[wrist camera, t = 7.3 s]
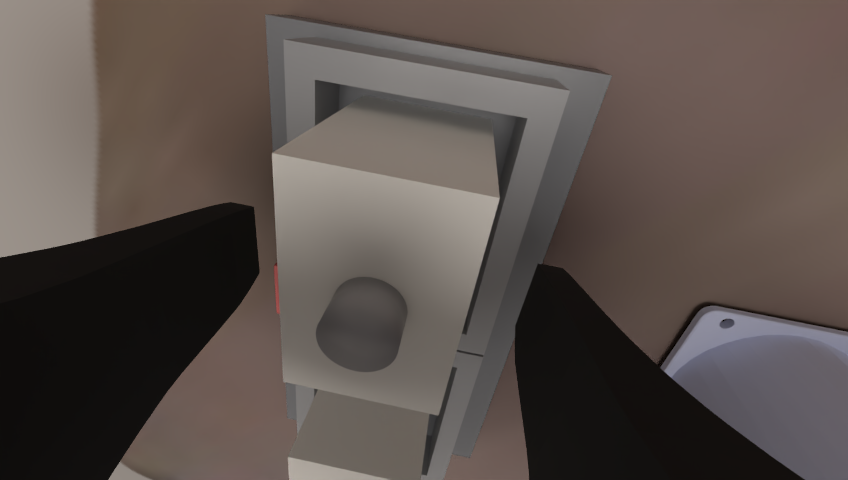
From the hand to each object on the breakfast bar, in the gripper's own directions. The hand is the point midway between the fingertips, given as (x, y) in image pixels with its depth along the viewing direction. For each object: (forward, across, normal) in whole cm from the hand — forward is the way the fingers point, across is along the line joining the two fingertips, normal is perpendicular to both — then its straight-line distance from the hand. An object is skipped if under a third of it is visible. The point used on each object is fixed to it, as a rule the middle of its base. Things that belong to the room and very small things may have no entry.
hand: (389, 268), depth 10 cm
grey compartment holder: (+6, 0, +5) cm, 7 cm away
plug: (+4, 0, 0) cm, 4 cm away
